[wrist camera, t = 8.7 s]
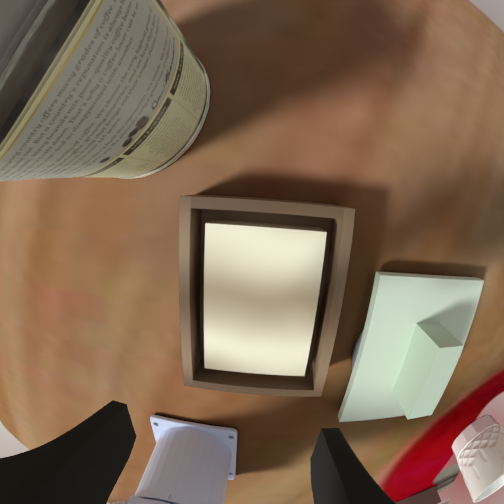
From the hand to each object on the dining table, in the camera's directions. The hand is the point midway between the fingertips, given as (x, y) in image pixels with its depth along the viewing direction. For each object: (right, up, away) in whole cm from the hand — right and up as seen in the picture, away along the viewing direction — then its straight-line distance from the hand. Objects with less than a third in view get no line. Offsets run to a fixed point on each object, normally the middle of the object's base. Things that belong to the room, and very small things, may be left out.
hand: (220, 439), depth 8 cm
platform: (+27, -32, +17) cm, 45 cm away
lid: (+13, -1, +9) cm, 16 cm away
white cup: (+29, -16, +13) cm, 36 cm away
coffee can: (-6, +17, +8) cm, 19 cm away
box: (+2, +4, +10) cm, 11 cm away
